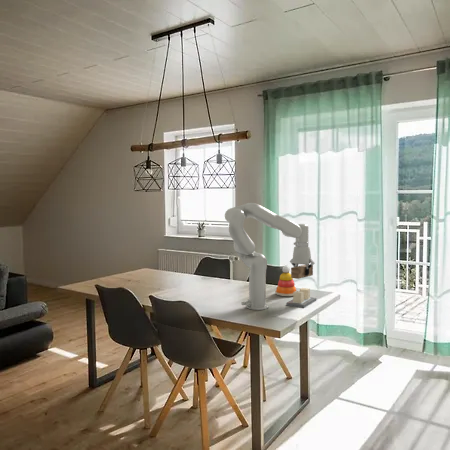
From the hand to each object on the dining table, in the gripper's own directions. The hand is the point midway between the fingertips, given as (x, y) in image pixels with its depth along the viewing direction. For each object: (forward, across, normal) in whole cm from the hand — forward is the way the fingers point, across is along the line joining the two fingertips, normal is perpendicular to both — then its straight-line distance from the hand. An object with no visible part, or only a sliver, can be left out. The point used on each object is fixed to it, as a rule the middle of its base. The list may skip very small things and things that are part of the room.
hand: (302, 274), depth 258 cm
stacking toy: (+17, -17, +14) cm, 28 cm away
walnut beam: (+1, 0, 0) cm, 1 cm away
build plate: (+17, 0, 0) cm, 17 cm away
